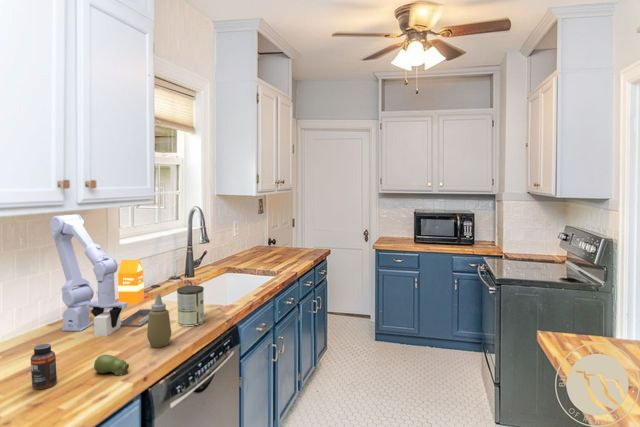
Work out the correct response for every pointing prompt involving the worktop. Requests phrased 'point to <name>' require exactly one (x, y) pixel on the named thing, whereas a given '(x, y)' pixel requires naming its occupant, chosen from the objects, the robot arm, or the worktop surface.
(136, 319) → the dark grey tray
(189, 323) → the coffee can
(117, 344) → the worktop surface
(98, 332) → the white rectangular block
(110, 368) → the green lumpy rounded piece
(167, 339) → the squeeze bottle
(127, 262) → the orange juice
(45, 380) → the supplement bottle
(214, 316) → the worktop surface
